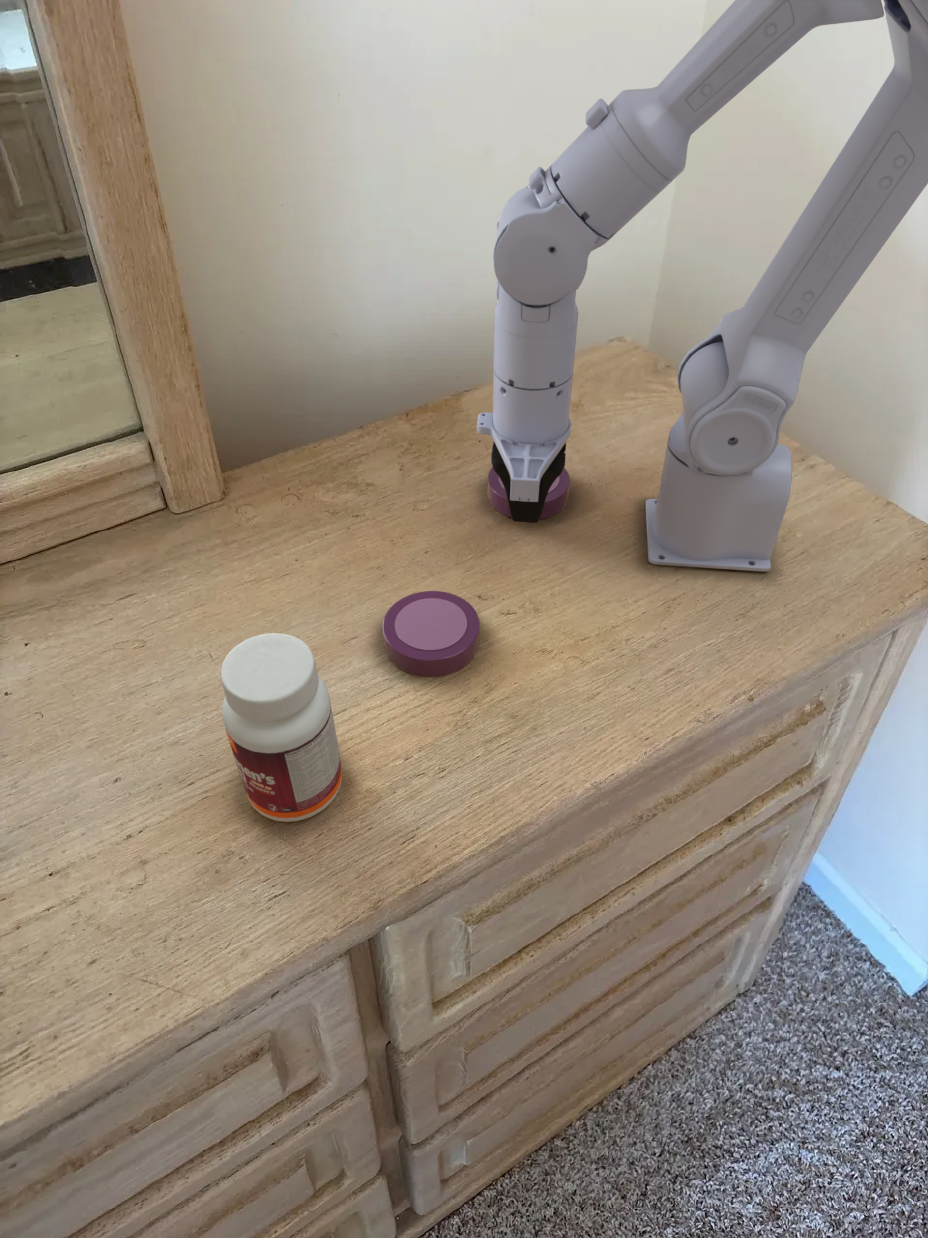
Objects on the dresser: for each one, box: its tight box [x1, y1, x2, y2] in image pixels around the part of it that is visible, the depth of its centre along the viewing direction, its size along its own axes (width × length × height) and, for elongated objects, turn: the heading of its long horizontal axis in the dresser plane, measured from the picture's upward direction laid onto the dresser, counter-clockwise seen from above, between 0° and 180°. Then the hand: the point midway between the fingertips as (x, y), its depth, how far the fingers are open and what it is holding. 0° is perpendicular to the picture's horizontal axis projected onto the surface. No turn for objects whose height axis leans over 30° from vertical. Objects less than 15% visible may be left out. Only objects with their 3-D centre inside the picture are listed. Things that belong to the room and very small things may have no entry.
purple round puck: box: [487, 466, 571, 521], centre depth 77 cm, size 7×7×2 cm
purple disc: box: [381, 590, 481, 678], centre depth 65 cm, size 7×7×2 cm
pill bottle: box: [220, 632, 343, 823], centre depth 53 cm, size 6×6×11 cm
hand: (525, 517), depth 74 cm, fingers closed
